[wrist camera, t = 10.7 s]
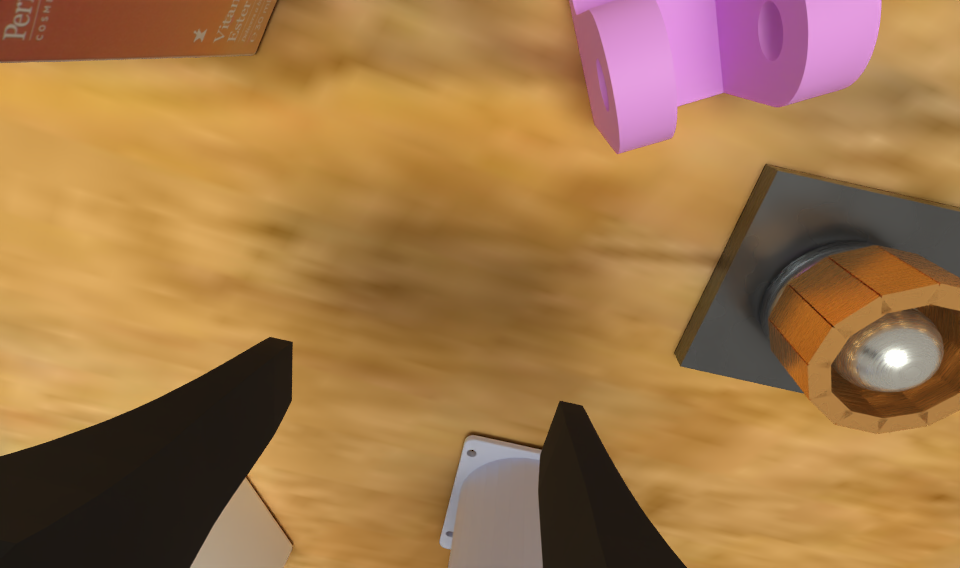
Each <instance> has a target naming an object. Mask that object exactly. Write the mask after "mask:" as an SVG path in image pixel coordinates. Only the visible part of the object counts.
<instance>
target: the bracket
mask: <svg viewBox="0 0 960 568" xmlns="http://www.w3.org/2000/svg"><path fill="white" fill-rule="evenodd" d="M569 3H570V8H571V13H572V18H573V23H574V27H575V32H576V37H577V42H578V47H579V52H580V57H581V61H582V66H583V71H584V76H585V81H586V86H587V90H588V95H589V100H590V105H591V110H592V115H593V120H594V124H595V126H596V127H597V128H598V130H599V131H600V132H601V134H602V135H603V136H604V138H605V139H606V140H607V142H608V143H609V144H610V146H611V147H612V148H613V150H614V151H615V152H616V153H617V154H619V153H622V152H626V151H629V150H633V149H636V148H640V147H643V146H647V145H650V144H654V143H657V142H661V141H664V140H667V139H671V138H672V137H673V135H674V132H675V129H676V122H677V106H681V105H684V104H687V103H691V102H694V101H697V100H701V99H704V98H707V97H711V96H714V95H717V94H721V93H727V94H730V95H734V96H738V97H741V98H745V99H748V100H752V101H755V102H759V103H763V104H766V105H770V106H773V107H782V106H786V105H789V104H793V103H796V102H799V101H803V100H806V99H810V98H813V97H817V96H820V95H824V94H827V93H831V92H834V91H838V90H841V89H844V88H846V87H848V86H850V85H851V84H853V83H854V82H855V81H856V80H857V79H858V78H859V77H860V75H861V74H862V73H863V71H864V69H865V68H866V66H867V64H868V62H869V60H870V58H871V55H872V53H873V50H874V47H875V44H876V40H877V36H878V31H879V25H880V17H881V0H569Z"/></svg>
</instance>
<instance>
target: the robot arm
mask: <svg viewBox="0 0 960 568" xmlns="http://www.w3.org/2000/svg"><path fill="white" fill-rule="evenodd" d="M292 346H293V342H290V341H286V340H281V339H277V338H272V337H269V338H267V339H265V340H264V341H262V342H260V343H258V344H257V345H255V346H253V347H251V348H250V349H248V350H246V351H245V352H243V353H241V354H239V355H238V356H236V357H234V358H233V359H231V360H229V361H227V362H226V363H224V364H222V365H220V366H219V367H217V368H215V369H213V370H211V371H210V372H208V373H206V374H204V375H202V376H201V377H199V378H197V379H195V380H193V381H191V382H189V383H187V384H185V385H183V386H181V387H179V388H177V389H175V390H173V391H171V392H169V393H167V394H165V395H164V396H162V397H160V398H158V399H155V400H153V401H151V402H149V403H147V404H145V405H142V406H140V407H138V408H136V409H133V410H131V411H129V412H126V413H124V414H121V415H119V416H117V417H114V418H112V419H110V420H107V421H104V422H102V423H99V424H97V425H94V426H91V427H88V428H86V429H83V430H80V431H77V432H74V433H72V434H69V435H66V436H63V437H61V438H58V439H55V440H52V441H49V442H46V443H43V444H40V445H37V446H34V447H30V448H27V449H24V450H21V451H18V452H14V453H11V454H7V455H4V456H0V568H190V567H191V565H192V563H193V561H194V560H195V558H196V556H197V554H198V552H199V551H200V549H201V547H202V545H203V543H204V542H205V540H206V538H207V536H208V534H209V533H210V531H211V529H212V527H213V526H214V524H215V522H216V521H217V519H218V518H219V516H220V514H221V513H222V511H223V510H224V508H225V507H226V505H227V504H228V502H229V501H230V499H231V498H232V496H233V495H234V493H235V492H236V491H237V489H238V488H239V486H240V485H241V483H242V482H243V480H244V479H245V477H246V476H247V474H248V473H249V472H250V470H251V469H252V467H253V466H254V464H255V463H256V461H257V460H258V458H259V457H260V455H261V454H262V452H263V451H264V449H265V448H266V447H267V445H268V444H269V442H270V441H271V439H272V437H273V436H274V434H275V433H276V431H277V429H278V427H279V425H280V423H281V421H282V419H283V417H284V415H285V413H286V411H287V409H288V407H289V405H290V403H291V401H292ZM470 450H474V451H470ZM440 545H441V546H442V547H443V548H446V549H451V552H450V558H449V565H448V568H687V567H686V566H685V565H684V564H683V562H682V561H681V560H680V559H679V558H678V556H677V555H676V554H675V553H674V552H673V550H672V549H671V548H670V547H669V545H668V544H667V543H666V541H665V540H664V539H663V538H662V536H661V535H660V534H659V532H658V531H657V530H656V528H655V527H654V526H653V524H652V523H651V522H650V520H649V519H648V517H647V516H646V515H645V513H644V512H643V510H642V509H641V507H640V506H639V504H638V503H637V501H636V500H635V498H634V497H633V495H632V493H631V492H630V490H629V489H628V487H627V486H626V484H625V482H624V481H623V479H622V477H621V476H620V474H619V472H618V470H617V469H616V467H615V465H614V464H613V462H612V460H611V458H610V457H609V455H608V453H607V451H606V449H605V448H604V446H603V444H602V442H601V440H600V438H599V436H598V434H597V432H596V430H595V429H594V427H593V425H592V423H591V421H590V419H589V417H588V415H587V413H586V411H585V409H584V408H583V406H581V405H577V404H572V403H568V402H563V401H560V402H559V404H558V407H557V410H556V413H555V415H554V418H553V421H552V424H551V426H550V429H549V432H548V434H547V437H546V440H545V443H544V445H543V448H542V450H540V449H536V448H531V447H527V446H522V445H518V444H513V443H508V442H504V441H499V440H495V439H490V438H486V437H481V436H476V435H471V436H468V437H467V438H466V439H465V442H464V446H463V450H462V454H461V458H460V462H459V466H458V469H457V473H456V477H455V481H454V485H453V489H452V493H451V497H450V501H449V505H448V509H447V513H446V517H445V521H444V525H443V528H442V532H441V536H440Z"/></svg>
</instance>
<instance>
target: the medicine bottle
mask: <svg viewBox="0 0 960 568" xmlns="http://www.w3.org/2000/svg"><path fill="white" fill-rule="evenodd" d="M291 550H292V544H291V542H290V541H289V539H288V538H287V536H286V535H285V534H284V532H283V531H282V529H281V528H280V526H279V525H278V523H277V522H276V520H275V519H274V518H273V516H272V515H271V513H270V512H269V510H268V509H267V507H266V506H265V504H264V503H263V502H262V500H261V499H260V497H259V496H258V494H257V493H256V491H255V490H254V488H253V487H252V485H251V484H250V483H249V481H248V480H247V478H246V477H245V479H244V480H243V482H242V483H241V485H240V486H239V488H238V489H237V491H236V492H235V493H234V495H233V496H232V498H231V499H230V501H229V502H228V504H227V505H226V507H225V508H224V510H223V511H222V513H221V514H220V516H219V518H218V519H217V521H216V522H215V524H214V526H213V527H212V529H211V531H210V533H209V534H208V536H207V538H206V540H205V542H204V543H203V545H202V547H201V549H200V551H199V552H198V554H197V556H196V558H195V560H194V561H193V563H192V565H191V567H190V568H284V565H285V563H286V561H287V559H288V557H289V555H290V553H291Z"/></svg>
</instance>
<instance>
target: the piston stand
mask: <svg viewBox="0 0 960 568" xmlns="http://www.w3.org/2000/svg"><path fill="white" fill-rule="evenodd" d="M872 245H879V246H884V247H888V248H892V249H897V250H901V251H906V252H910V253H915V254H918V255H920V256H922V257H924V258H925V259H927V260H929V261H931V262H933V263H934V264H936V265H938V266H940V267H941V268H943V269H945V270H947V271H949V272H950V273H952V274H954V275H956V276H958V277H959V278H960V208H958V207H954V206H950V205H945V204H941V203H936V202H932V201H927V200H923V199H918V198H914V197H910V196H905V195H901V194H896V193H892V192H887V191H883V190H878V189H874V188H870V187H865V186H861V185H856V184H852V183H847V182H843V181H838V180H834V179H830V178H825V177H821V176H816V175H812V174H807V173H803V172H798V171H794V170H790V169H785V168H781V167H776V166H772V165H767V164H766V165H765V167H764V169H763V171H762V173H761V176H760V178H759V180H758V182H757V184H756V186H755V188H754V190H753V192H752V194H751V196H750V198H749V200H748V202H747V204H746V207H745V209H744V211H743V213H742V215H741V217H740V219H739V221H738V223H737V225H736V227H735V229H734V231H733V233H732V235H731V237H730V240H729V242H728V244H727V246H726V248H725V250H724V252H723V254H722V256H721V258H720V260H719V262H718V264H717V266H716V268H715V270H714V273H713V275H712V277H711V279H710V281H709V283H708V285H707V287H706V289H705V291H704V293H703V295H702V297H701V299H700V301H699V304H698V306H697V308H696V310H695V312H694V314H693V316H692V318H691V320H690V322H689V324H688V326H687V328H686V330H685V332H684V334H683V337H682V339H681V341H680V343H679V345H678V347H677V349H676V351H675V355H676V358H677V360H678V362H679V364H680V366H682V367H686V368H691V369H695V370H700V371H704V372H709V373H713V374H718V375H722V376H727V377H731V378H736V379H740V380H745V381H750V382H754V383H759V384H763V385H768V386H772V387H777V388H781V389H786V390H790V391H795V392H799V393H804V392H803V391H802V390H801V389H800V387H799V386H798V385H797V383H796V382H795V381H794V379H793V378H792V377H791V376H790V374H789V373H788V372H787V370H786V369H785V368H784V366H783V365H782V364H781V363H780V361H779V360H778V359H777V357H776V356H775V355H774V353H773V352H772V351H771V348H770V337H769V325H768V319H769V318H768V317H769V315H770V313H771V312H772V310H773V308H774V306H775V305H776V303H777V301H778V300H779V298H780V296H781V294H782V293H783V291H784V289H785V287H786V286H787V284H788V285H790V284H789V282H791V281H792V280H794V279H795V278H796V277H798V276H799V275H801V274H802V273H804V272H805V271H806V270H808V269H809V268H811V267H812V266H814V265H815V264H816V263H818V262H819V261H821V260H822V259H824V258H825V257H827V258H828V256H829V255H834V254H838V253H842V252H847V251H851V250H855V249H859V248H864V247H868V246H872ZM943 354H944V345H943V341H942V337H941V335H940V333H939V331H938V329H937V327H936V326H935V325H934V323H933V322H932V321H931V320H930V319H929V318H928V317H927V316H925V315H924V314H923V313H921V312H920V311H919V310H917V308H912V309H907V310H902V311H897V312H892V313H887V314H886V315H884V316H882V317H881V318H879V319H878V320H876V321H874V322H873V323H871V324H869V325H868V326H866V327H865V328H863V329H861V330H860V331H858V332H856V333H855V334H853V335H852V336H850V338H849V339H848V341H847V342H846V343H845V345H844V346H843V348H842V349H841V351H840V352H839V354H838V355H837V357H836V358H835V360H834V361H833V362H832V364H831V366H832V367H833V368H834V370H835V371H836V372H837V373H839V374H840V375H841V376H842V377H843V378H844V379H846V380H847V381H849V382H851V383H852V384H855V385H857V386H859V387H861V388H865V389H868V390H871V391H878V392H900V391H905V390H909V389H912V388H915V387H917V386H919V385H921V384H923V383H925V382H926V381H927V380H929V379H930V378H931V377H932V376H933V375H934V374H935V373H936V371H937V370H938V368H939V367H940V365H941V362H942V359H943Z"/></svg>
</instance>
